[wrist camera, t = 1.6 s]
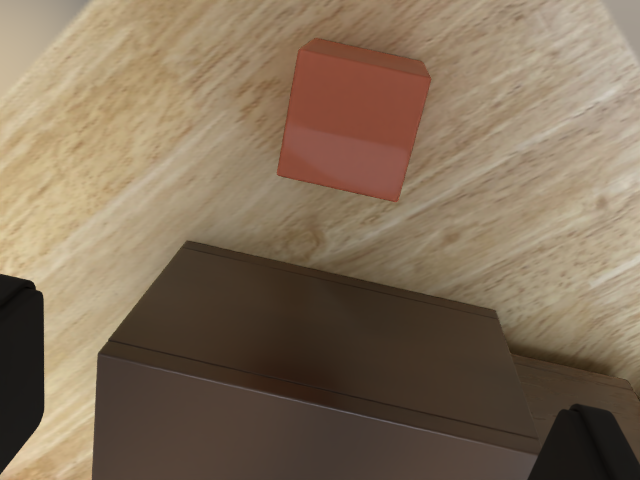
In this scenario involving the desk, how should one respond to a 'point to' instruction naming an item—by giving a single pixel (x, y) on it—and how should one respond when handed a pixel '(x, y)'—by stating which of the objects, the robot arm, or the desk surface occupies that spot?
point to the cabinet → (304, 381)
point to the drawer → (576, 396)
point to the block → (352, 118)
